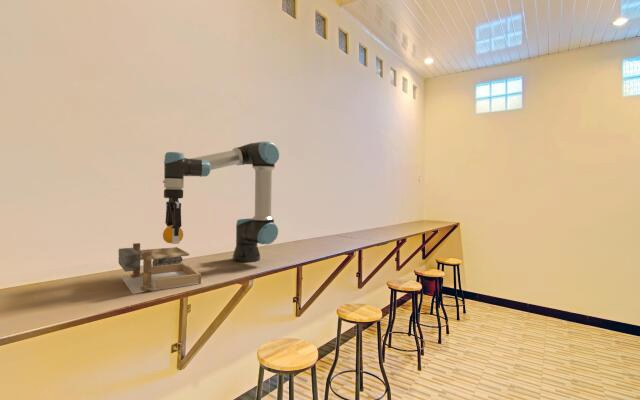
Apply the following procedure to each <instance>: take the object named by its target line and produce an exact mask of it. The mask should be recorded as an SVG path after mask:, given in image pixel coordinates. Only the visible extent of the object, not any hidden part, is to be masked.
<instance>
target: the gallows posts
mask: <svg viewBox="0 0 640 400" xmlns="http://www.w3.org/2000/svg"><path fill="white" fill-rule="evenodd" d="M132 248H133V249H135V250H137V249H138V250H139V251H140V250H141V242H135V243H134V242H133V243H132ZM152 262H153V259H152V252H151V251H146V252H144V256H143V263H142V264H143V265H142V266H143V268H142V269H143V273H141V269H140V270H136V271H132V274H129V277H131V278H136V277H142V275H143V287H140V289H141V290H142V291H144V292H143V293H149V292H152V291H151V290H154V287H153V286H152V285H151V267H153V264H152ZM145 291H146V292H145ZM148 291H149V292H148Z"/></svg>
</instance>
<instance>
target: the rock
mask: <svg viewBox="0 0 640 400" xmlns="http://www.w3.org/2000/svg"><path fill="white" fill-rule="evenodd" d="M181 263H183V256H180V257H170V258H160V259H152V267H154V266H163V265H172V264H181Z"/></svg>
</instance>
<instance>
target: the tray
mask: <svg viewBox="0 0 640 400" xmlns="http://www.w3.org/2000/svg"><path fill="white" fill-rule="evenodd" d="M122 280H123V282H124V284H125V285H126V287H127V288H128V289H129V291H130V292H131V293H132V294H133V295H134V294H135V295H136V294H141V293H142V292H143V293H147V292H146V291H145V292H144V291H142V290H141V289H140V287H143V274H142V277H136V278H131V276H125V277H122ZM200 284H202V273H200V272H199V271H197V270H195V269H194V268H192V267H191V266H189V265H187V264H186V263H184V262H181V264H172V265H163V266H154V267H153V266H152V267H151V285H152V286H153V287H154V290H156V291H160V289H162V290H169V289H174V288H175V289H176V288H181V287H187V286H194V285H200ZM154 290H151V291H150V292H155V291H154ZM143 293H142V294H143Z"/></svg>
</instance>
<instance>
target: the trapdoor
mask: <svg viewBox="0 0 640 400" xmlns="http://www.w3.org/2000/svg"><path fill="white" fill-rule="evenodd" d="M146 251H151V252H152V260H153V259H160V258H170V257H180V256H181V257H188V256H190V253H189V252H187V251H185V250H183V249H181V248H179V247H178V246H175V247H163V248H152V249H151V248H149V249H140V251H139V250H138V249H137V250H135V249H133V247H124V248H123V247H122V248H118V264H119V266H120V267H121V268H122V270H123V271H124V272H125V273H127V272H133V271H136V270H140V271H141V261H142V260H143V256H144V252H146Z"/></svg>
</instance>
